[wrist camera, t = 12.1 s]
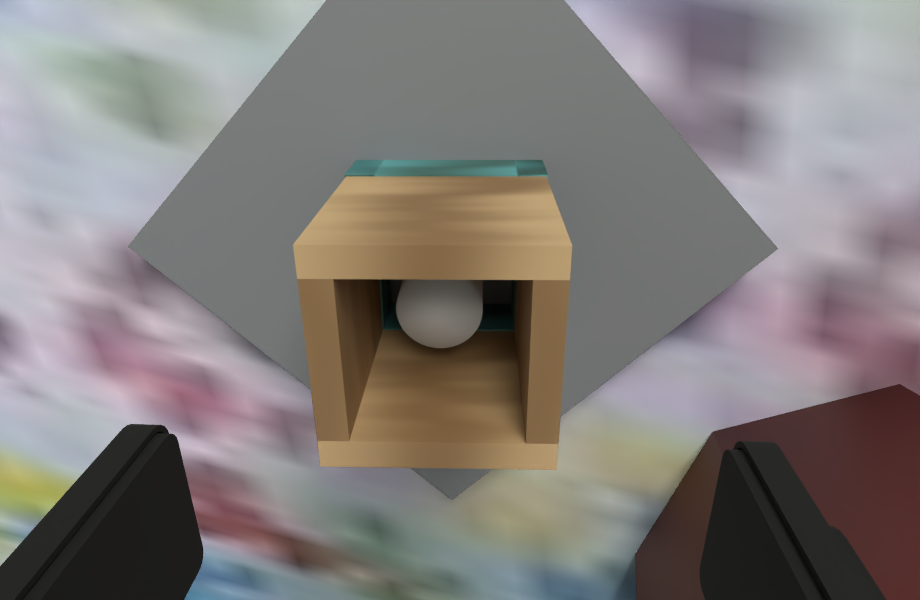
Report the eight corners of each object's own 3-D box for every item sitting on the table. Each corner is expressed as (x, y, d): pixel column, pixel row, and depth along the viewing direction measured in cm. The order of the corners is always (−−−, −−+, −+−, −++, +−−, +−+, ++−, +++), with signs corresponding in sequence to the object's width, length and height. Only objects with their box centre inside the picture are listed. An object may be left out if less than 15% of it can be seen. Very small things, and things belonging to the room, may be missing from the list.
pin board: (760, 234, 23) (855, 313, 17) (453, 476, 28) (446, 600, 22) (444, -132, 19) (427, -194, 13) (148, 232, 24) (38, 307, 18)
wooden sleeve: (542, 159, 21) (574, 243, 14) (534, 326, 23) (558, 471, 16) (356, 160, 21) (290, 242, 14) (368, 325, 24) (318, 468, 16)
